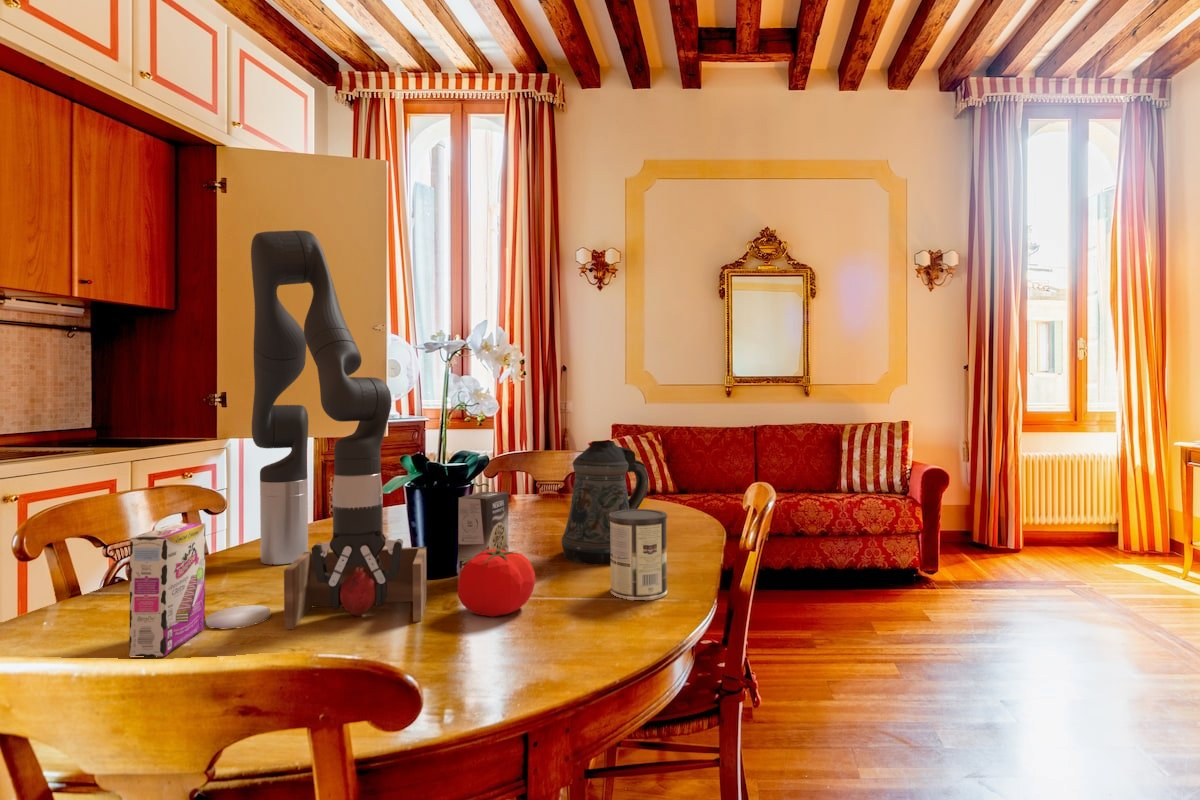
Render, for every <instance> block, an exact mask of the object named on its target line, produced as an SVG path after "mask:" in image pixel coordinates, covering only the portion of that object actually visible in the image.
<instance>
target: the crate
mask: <svg viewBox="0 0 1200 800" xmlns="http://www.w3.org/2000/svg"><path fill="white" fill-rule="evenodd" d="M378 556H379V558H380V560H381V562H382V565H383V568H384V570H385V572H386V571H389V570H390V566H391V559H392V554H390V553H389V552H388V548H387V547H386V548H383V549H382V550H381V552H380V553H379V554H378ZM325 559H326V565H327V571H328V573H329V574H333V572H334V569H335V567H336V565H337V563H338V561H339V559H338V557H337V556H336V555H335V554H334V552H333V551H332V550H328V554H327V555H326V556H325ZM375 560H376V559H375ZM372 564H373V563H372ZM358 566H360V565H355V566H352V567H347V566H346V567H345V569H344V571H343V573H342V576H341V578H340V583H341V586H342V584H343V582H344V581H345V580H346V579H347V577H348V576H350V575H351V574H352V573H353V572H354V571H355V569H356V568H357V567H358ZM363 567H364V569H363V570H364V572H365V573H367V574H369V575H370V576H371V577H373V579H374V580H375V581H376V583H377V582H378V581H377V579H376V577H375V575H374V573H373V572H372V571H371V569H370V567H369V565H368V566H363ZM427 567H428V565H427V546H416V547H415V546H413V547H402V553H401V559H400V566H399V572H398V574H397V577H396V578H395V579H391V580H388V581H387V598H386V600H385V603H384V604H386V603H402V602H403V603H404V602H412V622H413V623H415V622H416V623H417V622H422V619H423V615H424V611H425V607H426V603H427V600H428V591H427V589H428V587H427V584H428V583H427V577H428V576H427V569H428V568H427ZM283 597H284V598H283V603H284V604H283V607H284V613H283V615H284V616H283V617H284V623H283V624H284V626H283V627H284V630H285V629H286V630H285V631H288V630H287V629H292V630H294V628H295V627H296V626H297V625H298V623H300V621H301V620H302V619H303V617H304V616H305V615H306V613H307V612H308V611H309V610H308V609H310V608H315V607H314V606H320V607H332V606H331V604H330V586H329V585H328V584H326V583H319V582H317V578H316V573H315V567H314V561H313V556H312V551H308V552H304V553H303V554H301V555H300V556H299V557H298V558H297V559H296V560H295V561H294V562H293V563H290V564H289V565H288V566H287V567H286V568H285V569H283ZM374 604H376V601H375V603H374ZM312 606H313V607H312ZM341 606H343V605H342V603H341Z"/></svg>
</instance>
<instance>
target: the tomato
mask: <svg viewBox="0 0 1200 800" xmlns="http://www.w3.org/2000/svg"><path fill="white" fill-rule="evenodd" d="M480 549H481V548H480ZM482 550H484V549H482ZM535 585H536V573H535V569H534V567H533V565H532V562H531V561H530V560H529V559H528V558H527V557H526V556H525V555H524V554H522V553H519V552H517V550H516V551H515V550H514V551H509V552H508V551H505V550H501V549H500V548H497V549H487V550H484V551H482V552H481V553H479V554H477V555H475V557H474V558H473V559H471V560H470V561H468V562H467V563H466V564H465V566H464V567H463V569H462V570H461V571H460V576H459V581H458V582H457V596H458V599H459V601H460V603H461V604H462V605H463V606H464V607H465V608H466V610H468V611H470V612H471V613H473V614H475V615H482V616H487V617H491V618H492V617H498V616H504V615H508V614H511V613H514V612H517V611H518V610H519V609H521V608H522V607H523V606H524V605H525V604H526V603H527V602H528V601H529V600H530V598H531V596H532V594H533V591H534V588H535Z"/></svg>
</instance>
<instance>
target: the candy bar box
mask: <svg viewBox="0 0 1200 800" xmlns="http://www.w3.org/2000/svg"><path fill="white" fill-rule="evenodd" d="M206 526H207V525H206V523H199V522H198V523H197V522H192V523H191V522H188V523H187V522H183V523H180V522H179V523H171V524H169V525H167V526H163V527H160V528H157V529H154V530H151V531H148V532H145V533H142V534H139V535H135V536H133V537H130V538H129V545H130V548H129V629H128V630H129V633H128V634H129V640H128V641H129V644H128V645H129V649H128V651H129V653H128V657H129V656H144V657H129V658H132V659H133V658H136V659H137V658H141V659H143V658H144V659H145V658H146V659H147V658H148V659H149V658H163V657H164V656H165V655H166V656H168V655H169V654H170V653H172V652H174V651H175V650H176V649H178V648H179V647H180V646H179V645H181V644H182V643H183V644H185V643H186V642H188V641H189V640H191V639H192V638H194V637H195V636H196V635H195V634H197V633H198V634H199V632H200V631H201V630H203V629H204V628H205V626H206V618H205V617H206V616H205V613H206V612H205V611H206V610H205V609H206V608H205V606H206V603H205V602H206V599H205V598H206V595H205V594H206V592H205V591H206ZM204 630H205V629H204ZM204 630H203V631H204ZM201 632H202V631H201ZM201 632H200V633H201ZM198 634H197V635H198ZM194 635H195V636H194ZM193 636H194V637H193ZM191 637H192V638H191ZM190 638H191V639H190ZM188 639H189V640H188ZM187 640H188V641H187ZM185 641H186V642H185ZM184 642H185V643H184ZM183 644H182V645H183ZM182 645H181V646H182ZM178 646H179V647H178ZM177 647H178V648H177ZM175 648H176V649H175ZM174 649H175V650H174ZM171 651H172V652H171ZM169 652H170V653H169ZM168 653H169V654H168ZM156 656H157V657H156ZM166 656H165V657H166Z"/></svg>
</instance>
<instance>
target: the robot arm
mask: <svg viewBox="0 0 1200 800" xmlns="http://www.w3.org/2000/svg"><path fill="white" fill-rule="evenodd" d="M325 255H326V254H325V253H324V251H323V248H322V245H321V244H320V241H319V239H318V238H317V237H316V235H315V234H314V233H313V232H311V231H308V230H277V231H276V230H275V231H273V230H272V231H262V232H257V233H256V234H255V235H253V238H252V240H251V245H250V262H251V273H252V289H253V298H254V299H253V300H254V301H253V302H254V328H253V329H254V330H253V372H254V373H253V375H254V391H253V392H254V393H253V403H252V404H253V405H252V416H251V437H252V441H253V443H254V444H255V446H257V447H258V448H260V449H286V448H289V449H290V448H291V451H290V452H289V453H288V455H286V456H285V457H283V458H281V459H279V460H277V461H275V462H272V463H269V464H266V465H264V466H263V467H261V469H260V471H259V489H260V492H259V496H260V498H259V501H260V502H259V503H260V505H259V507H260V509H259V510H260V515H259V516H260V563H261V564H265V565H272V564H273V565H288V564H289V565H290V564H292V563H293V562H294V561H295V560H296V559H297V558H298V557H299V556H300V555H301V554H303V553H304V552H309V507H308V506H309V502H308V500H309V499H308V498H309V497H308V494H309V493H308V489H309V488H308V441H309V439H308V437H309V414H308V410H307V409H306V407H305V406H304V405H300V404H275V403H276V401H277V399H278V398H279V397H280V396H281V395H282V393H283V392H284V391H286V390H287V389H288V388H289V387H290V386H291V385H292V384H293V383H294V382H296V380H297V379H298V378H299V377H300V375H301V374H302V372H303V371H304V369H305V366H306V357H307V347H308V350H309V352H310V354H311V357H312V358H313V361H314V363H315V366H316V367H317V368H316V369H317V375H318V381H319V390H320V391H319V392H320V394H319V395H320V404H321V408H322V409H323V412H324V413H325V414H326V415H327V416H328V417H329V418H331V419H332V420H334V421H335V422H358V425H357V427H356V429H355V431H354V432H353V433H352V434H350V435H347V436H343V437H340V438H338V439H337V440H335V443H334V446H333V447H334V448H333V457H334V458H333V459H334V460H333V463H334V467H333V469H334V472H333V473H334V476H333V483H332V495H331V503H332V537H331V540H330V541H327V542H323V543H322V542H319V541H317V542H316V543H315V544H314V545H313V546H311V552H312V556H313V561H314V567H315V573H316V578H317V582H319V583H326V584H328V585H329V586H330V604H331V606H330V607H334V608H333V609H334V610H340V609H341V607H342V605H341V601H340V597H339V593H340V588H341V583H340V578H341V576H342V573H343V571H344V569H345V567H346V566H347V567H352V566H355V565H360V566H368V565H369V567H370V569H371V571H372V572H373V573H374V575H375V577H376V579H377V581H378V582H377V584H376V603H375V605H376V608H377V607H378V608H379V607H382V606H383V604H386V603H385V600H386V598H387V581H388V580H391V579H395V578H396V577H397V574H398V572H399V566H400V559H401V553H402V548H403V546H404V545H403V544H404V541H403V539H401V538H398V539H395V540H393V539H387V538H386V536H385V534H384V519H383V518H384V517H383V515H384V514H383V513H384V512H383V510H384V509H383V508H384V507H383V506H384V505H383V504H384V503H383V499H384V498H383V493H384V492H383V481H382V473H381V472H382V466H381V465H382V464H381V462H382V459H381V458H382V456H381V449H382V443H383V440H384V438H385V433H386V429H387V426H388V421H389V418H390V417H389V416H390V414H391V410H392V401H393V400H392V395H391V391H390V388H389V386H388V385H387V383H386V382H385V381H384V380H382V379H381V378H378V377H373V376H371V377H370V376H369V377H368V376H367V377H363V376H356V377H355V376H351V375H352V374H354V373H356V372H357V371H358V370H359V369H360V367H361V366H362V365H361V364H362V356H361V352H360V350H359V348H358V346H357V344H356V342H355V339H354V337H353V336H352V334H351V332H350V329H349V328H348V326H347V323H346V320H345V318H344V316H343V313H342V309H341V307H340V303H339V299H338V296H337V292H336V290H335V285H334V282H333V278H332V275H331V272H330V268H329V265H328V262H327V259H326V256H325ZM308 283H309V284H310V285H311V288H312V291H313V292H312V299H311V303H310V305H309V308H308V310H307V311H308V312H307V314H306V316H305V320H304V325H303V328H302V327H301V325H300V324H299V323H298V321H297V320H296V319H295V318H294V317H293V316H292V314H291V313H290V312H289V311H288V310H287V309H286V308H285V306H284V305H283V304H282V302H281V301H280V299H279V297H278V288H279V286H286V285H288V286H289V285H300V284H301V285H302V284H308ZM384 547H386V548H388V552H389V553H390V554H392V559H391V566H390V570H389V571H386V572H385V570H384V568H383V565H382V562H381V560H380V558H379V556H378V554H379V553H380V552H381V550H382V549H385V548H384ZM328 551H333V552H334V554H335V555H336V556H337V557H338V559H339V561H338V563H337V565H336V567H335V569H334V572H333V574H329V573H328V571H327V565H326V559H325V556H326V555H327V554H328ZM375 559H376V560H375ZM372 563H373V564H372Z"/></svg>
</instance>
